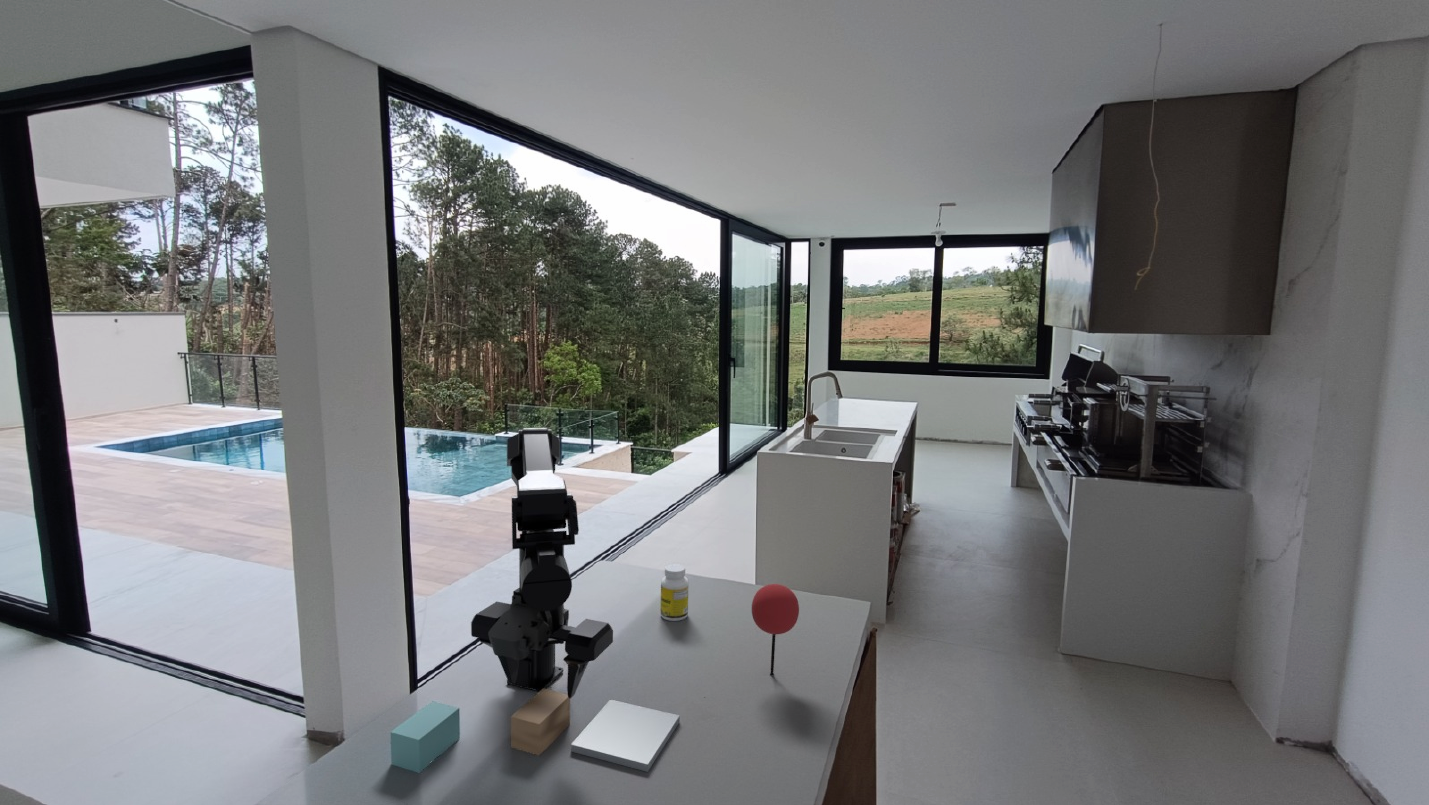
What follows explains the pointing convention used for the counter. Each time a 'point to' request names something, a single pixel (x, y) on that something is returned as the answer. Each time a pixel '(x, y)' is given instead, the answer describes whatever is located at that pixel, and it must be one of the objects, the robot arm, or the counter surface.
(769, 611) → the lollipop
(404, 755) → the teal brick
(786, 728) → the counter surface
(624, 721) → the base plate
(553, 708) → the walnut brick
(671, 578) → the supplement bottle
